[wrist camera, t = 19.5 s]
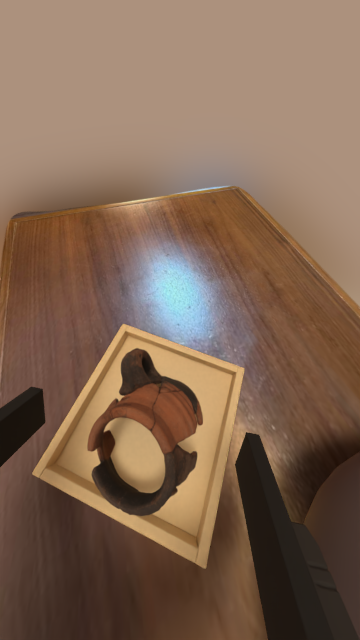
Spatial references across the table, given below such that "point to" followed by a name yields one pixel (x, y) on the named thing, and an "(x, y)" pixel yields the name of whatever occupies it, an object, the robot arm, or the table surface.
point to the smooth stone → (340, 531)
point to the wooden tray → (152, 443)
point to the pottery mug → (160, 419)
